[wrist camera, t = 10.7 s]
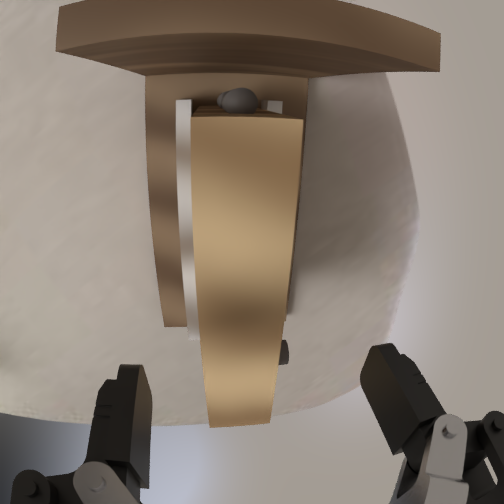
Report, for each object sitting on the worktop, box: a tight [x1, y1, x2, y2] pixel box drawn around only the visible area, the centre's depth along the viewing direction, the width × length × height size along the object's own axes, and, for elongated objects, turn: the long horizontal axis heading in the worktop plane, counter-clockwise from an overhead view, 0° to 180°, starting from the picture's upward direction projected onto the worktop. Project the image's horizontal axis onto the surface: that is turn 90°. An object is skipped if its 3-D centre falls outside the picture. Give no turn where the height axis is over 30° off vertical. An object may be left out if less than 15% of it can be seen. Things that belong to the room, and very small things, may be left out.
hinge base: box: [56, 0, 441, 340], centre depth 19 cm, size 24×12×16 cm, turn 178°
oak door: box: [190, 88, 303, 428], centre depth 19 cm, size 17×5×14 cm, turn 178°
